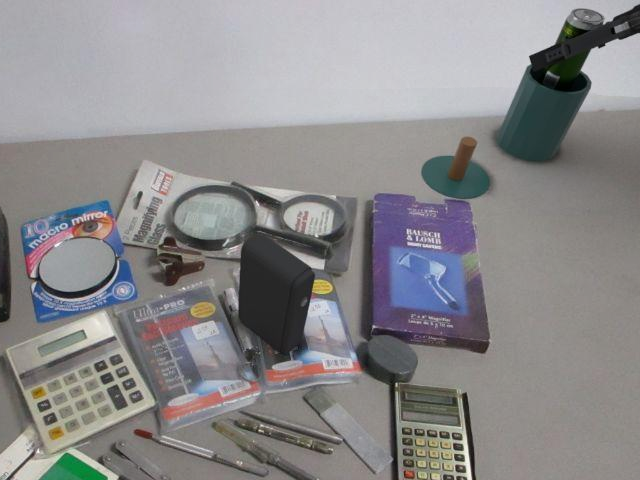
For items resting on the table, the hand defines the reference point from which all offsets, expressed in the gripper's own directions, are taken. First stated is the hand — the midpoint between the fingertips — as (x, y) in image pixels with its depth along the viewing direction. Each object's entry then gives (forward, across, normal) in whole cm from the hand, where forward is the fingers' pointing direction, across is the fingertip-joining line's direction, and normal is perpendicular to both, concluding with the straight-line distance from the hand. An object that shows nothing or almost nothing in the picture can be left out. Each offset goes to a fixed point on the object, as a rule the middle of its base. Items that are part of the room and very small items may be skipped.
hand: (543, 58), depth 99 cm
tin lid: (+9, -18, -13) cm, 24 cm away
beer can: (0, 0, -5) cm, 5 cm away
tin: (+8, 0, -14) cm, 16 cm away
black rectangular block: (+4, -65, -19) cm, 67 cm away
